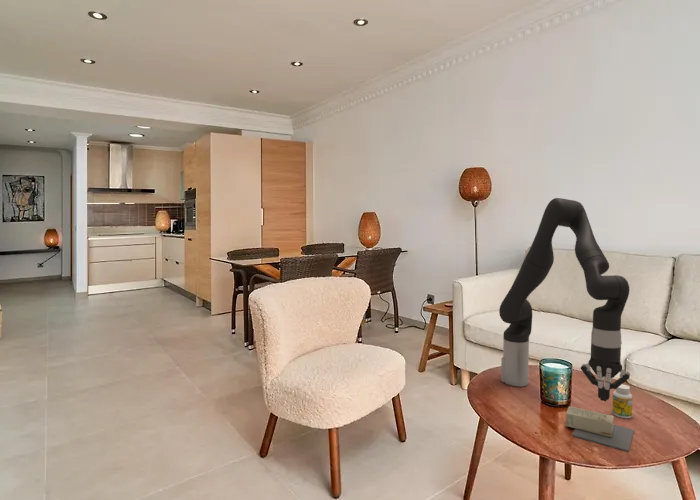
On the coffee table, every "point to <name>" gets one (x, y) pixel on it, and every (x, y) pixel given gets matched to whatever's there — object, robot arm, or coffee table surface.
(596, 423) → the skincare box
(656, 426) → the coffee table surface
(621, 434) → the mat
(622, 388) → the supplement bottle
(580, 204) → the robot arm
